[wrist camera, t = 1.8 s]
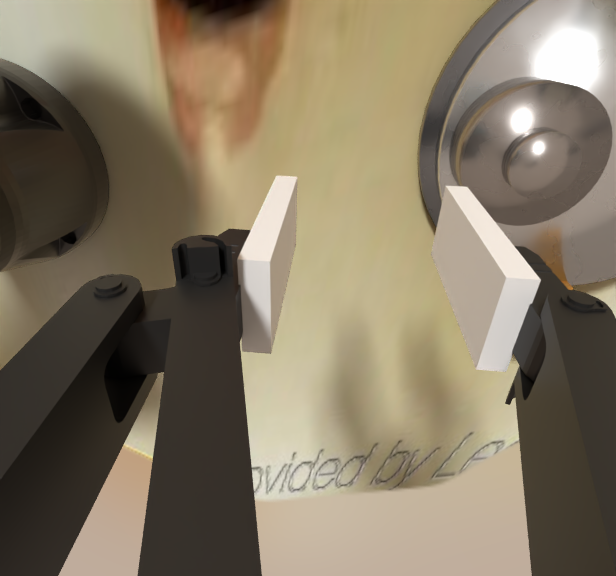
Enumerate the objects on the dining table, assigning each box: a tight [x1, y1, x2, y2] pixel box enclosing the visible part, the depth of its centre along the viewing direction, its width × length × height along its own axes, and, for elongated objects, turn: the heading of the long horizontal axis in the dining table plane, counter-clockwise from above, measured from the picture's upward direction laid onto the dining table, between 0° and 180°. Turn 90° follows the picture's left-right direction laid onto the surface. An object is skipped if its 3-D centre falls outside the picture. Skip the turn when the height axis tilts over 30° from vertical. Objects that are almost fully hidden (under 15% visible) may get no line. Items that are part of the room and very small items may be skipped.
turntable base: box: [418, 0, 529, 228], centre depth 29 cm, size 22×22×1 cm
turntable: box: [435, 0, 616, 290], centre depth 29 cm, size 20×26×3 cm
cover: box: [449, 77, 613, 226], centre depth 25 cm, size 8×8×5 cm
